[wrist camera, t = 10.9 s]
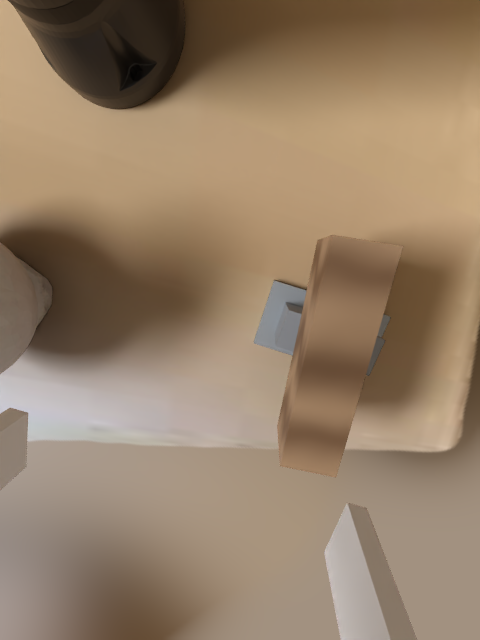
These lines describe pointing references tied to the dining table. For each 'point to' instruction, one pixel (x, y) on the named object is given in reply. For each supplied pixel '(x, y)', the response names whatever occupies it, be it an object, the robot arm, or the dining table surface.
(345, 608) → the robot arm
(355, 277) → the walnut bar
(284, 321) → the fulcrum
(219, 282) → the dining table surface
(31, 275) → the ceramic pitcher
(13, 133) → the dining table surface
